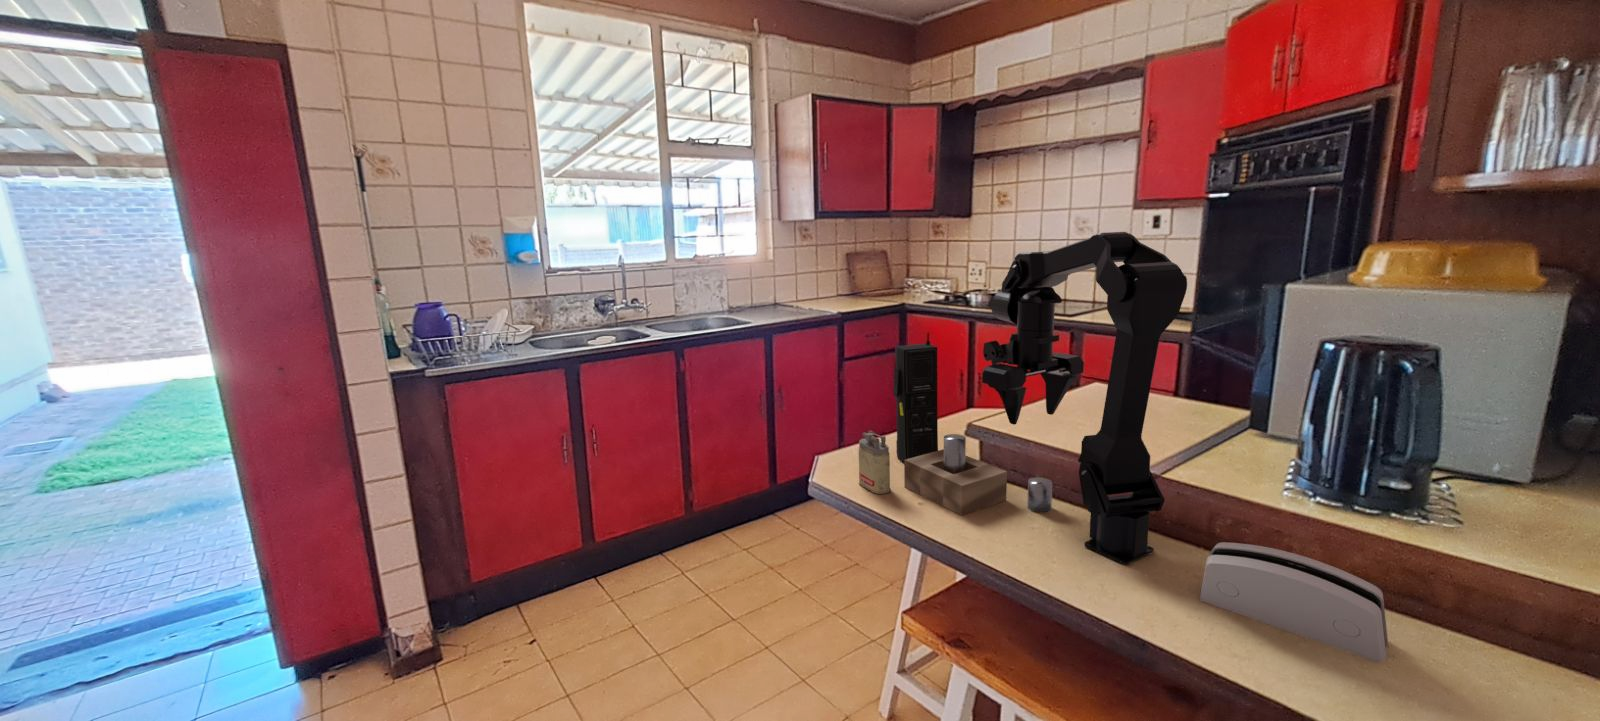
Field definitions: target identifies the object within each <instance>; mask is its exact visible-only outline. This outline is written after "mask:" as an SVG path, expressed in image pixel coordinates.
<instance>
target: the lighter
mask: <svg viewBox="0 0 1600 721" xmlns="http://www.w3.org/2000/svg"><path fill="white" fill-rule="evenodd" d="M861 436H862V437H863V438H861V439H860V440H859V441H858V445H859V446H858V479H859V480H858V484H859V485H860V486H862V487H863V488H864V489H867V490H868V491H870V492H872V493H874V494H877V495H879V494H881V495H883V494H887V493H889V492H890V491H891V478H890V477H891V474H890V473H891V472H890V470H891V469H890V468H891V467H890V463H891V462H890V458H891V457H890V455H891V454H890V451H889V450H890V449H889V448H890V447H889V446H888V444H886V441H887V440H886V439H887V438H886V435H879V434H877V433H875V432H874V431H872V430H868V431H867V432H862V435H861Z"/></svg>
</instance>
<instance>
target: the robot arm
mask: <svg viewBox="0 0 1600 721" xmlns="http://www.w3.org/2000/svg"><path fill="white" fill-rule="evenodd" d="M1116 263H1123V264H1121V265H1119V266H1118V265H1117V264H1116ZM1090 269H1095V282H1096V283H1097V284H1098V286H1099V287H1100V288H1101V289H1102V290H1103V291H1104V292H1105V294H1106V295H1107V296H1106V297H1107V298H1106V299H1107V300H1106V309H1107V312H1108V314H1109V316H1110V318H1111V320H1112V322H1113V325H1114V327H1115V329H1116V333H1115V340H1114V346H1113V351H1112V358H1111V365H1110V368H1109V369H1110V370H1109V376H1108V383H1107V389H1106V395H1105V401H1104V407H1103V412H1102V419H1101V425H1100V428H1099V430H1098V432H1097V433H1096V434H1089V435H1084V437H1083V438H1082V441H1081V450H1080V455H1079V457H1078V459H1077V461H1078V463H1079V469H1078V478H1079V483H1080V489H1081V496H1082V502H1083V505H1084V506H1085V507H1087V512H1089V513H1090V519H1089V532H1088V533H1089V534H1088V535H1089V538H1090V539H1088V540H1086V541H1084V542H1083V543H1084V547H1086V548H1087V549H1089V550H1092V551H1094V552H1097V553H1099V554H1101V555H1102V556H1104V557H1107V558H1110V559H1112V560H1113V561H1116V562H1118V563H1120V564H1123V565H1130V564H1132V563H1134V562H1136V561H1138V560H1140V559H1143V558H1144V557H1147V556H1149V555H1151V554H1153V553H1154V552H1155V551H1154V550H1155V548H1154V547H1152V546H1151V545H1148V541H1149V528H1150V518H1151V516H1150V515H1151V513H1150V512H1161V510H1162V508H1163V506H1164V504H1165V501H1166V500H1165V496H1164V495H1163V493H1162V492H1161V489H1160V487H1159V486H1158V482H1156V479H1155V478H1154V476H1153V473H1152V472H1151V455H1150V452H1149V450H1148V449H1147V446H1146V444H1145V443H1144V440H1143V439H1142V436H1143V434H1142V433H1143V428H1144V424H1145V418H1146V413H1147V407H1148V403H1149V397H1150V393H1151V386H1152V383H1153V382H1152V381H1153V376H1154V372H1155V370H1154V369H1155V365H1156V360H1157V356H1158V349H1159V344H1160V339H1161V336H1162V334H1163V333H1164V332H1165V330H1167V328H1168V327H1169V326H1170V325H1171V324H1172V322H1173V321H1174V320H1175V319H1176V318H1177V317H1178V315H1179V314H1180V310H1181V307H1182V305H1183V301H1184V299H1185V296H1186V293H1187V289H1188V278H1187V276H1186V275H1185V274H1184V273H1183V271H1182V269H1181V268H1180V266H1179V265H1178V264H1177V263H1174V262H1172V260H1170V258H1168V256H1166V255H1165V254H1163V253H1162V252H1160V251H1157V250H1156V249H1153V248H1152V247H1150V246H1147V245H1145V244H1144V243H1142V242H1141V241H1139V239H1137V238H1136V237H1135V236H1134V234H1131V233H1129V232H1127V231H1113V232H1110V231H1109V232H1098V233H1096V234H1093V235H1092V236H1091V237H1089V238H1085V239H1082V240H1080V241H1077V242H1074V243H1071V244H1067V245H1066V246H1062V247H1059V248H1056V249H1053V250H1050V251H1031V252H1028V251H1027V252H1026V251H1025V252H1019V253H1018V254H1016V256H1015V257H1014V260H1013V261H1012V263H1011V264H1010V267H1009V269H1008V271H1007V275H1006V276H1005V277H1004V280H1003V281H1002V282H1001V289H1000V290H999V291H997V292H996V293H995V294H994V295H993V298H992V300H991V302H990V309H991V312H992V315H993V316H994V317H995V318H996V319H998V320H1001V321H1003V322H1004V321H1005V322H1008V323H1010V324H1011V323H1012V324H1015V325H1016V332H1015V333H1011V335H1010V336H1009V342H1007V343H1002V344H1000V343H999V341H997V340H991V341H988V342H984V343H983V349H982V354H983V358H984V360H985V361H986V362H989V361H990V362H991V365H986V366H985V367H984V369H982V371H981V383H982V384H986V385H987V386H988V388H992V389H994V390H995V391H996V393H997V394H998V395H999V398H1000V399H1001V402H1002V404H1003V407H1004V410H1005V412H1006V413H1005V414H1006V415H1007V418H1008V422H1009V424H1010V425H1014V426H1015V425H1016V424H1017V423H1018V420H1019V418H1020V414H1021V410H1022V406H1023V403H1024V400H1025V396H1026V391H1027V387H1026V386H1024V385H1025V383H1026V381H1027V377H1031V376H1037V375H1041V377H1042V379H1043V380H1044V383H1045V407H1046V408H1045V409H1046V414H1047V415H1051V416H1053V415H1054V414H1055V412H1056V411H1057V409H1058V407H1059V406H1060V404H1061V402H1062V400H1063V398H1064V397H1065V395H1066V393H1067V392H1068V391H1069V389H1070V388H1071V386H1072V385H1073V383H1074V382H1075V380H1076V379H1078V378H1079V374H1084V369H1085V368H1084V366H1085V362H1084V360H1083V359H1082V357H1081V356H1080V355H1075V354H1068V353H1063V352H1054V343H1055V342H1059V341H1060V334H1055V332H1054V331H1055V308H1056V304H1061V303H1062V301H1063V298H1062V297H1061V296H1060V295H1059V294H1058V293H1057V292H1056V291H1055V289H1054V288H1053V287H1057V286H1059V285H1060V284H1062V283H1064V282H1066V281H1067V280H1068V279H1069V278H1068V277H1069V276H1071V275H1072V274H1075V273H1079V272H1084V271H1088V270H1090ZM1013 365H1014V366H1013ZM1127 493H1132V494H1127ZM1116 494H1117V495H1116ZM1120 494H1124V495H1120ZM1109 495H1110V496H1109ZM1111 495H1115V496H1111Z"/></svg>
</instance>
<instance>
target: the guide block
mask: <svg viewBox="0 0 1600 721" xmlns="http://www.w3.org/2000/svg"><path fill="white" fill-rule="evenodd" d="M943 459H944V448H943V449H938V451H935V452H932V453H928V454H924V455H920V456H917V457H913V458H909V459H906V460H904V468H903V469H904V472H903V473H904V476H903V477H904V480H903V481H904V488H907V489H909V490H910V491H912V492H914V493H916V494H918V495H920V496H922V497H924V498H926V499H928V500H930V501H932V502H934V503H936V504H937V505H940V506H942V507H944V508H946V509H948V510H950V511H952V512H954V513H955V514H958V515H960V516H964V515H967V514H970V513H973V512H976V511H978V510H981V509H985V508H987V507H991V506H993V505H997V504H999V503H1002V502H1004V501H1007V488H1008V486H1007V481H1008V478H1007V477H1008V471H1006V470H1003V469H1002V468H999V467H997V466H994V465H991V464H988V463H986V462H983V461H981V460H978V459H975V458H973V457H970V456H967V455H966V456H965V471H963V472H960V473H956V474H951V473H949V472H947V471H945V470H943Z"/></svg>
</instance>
